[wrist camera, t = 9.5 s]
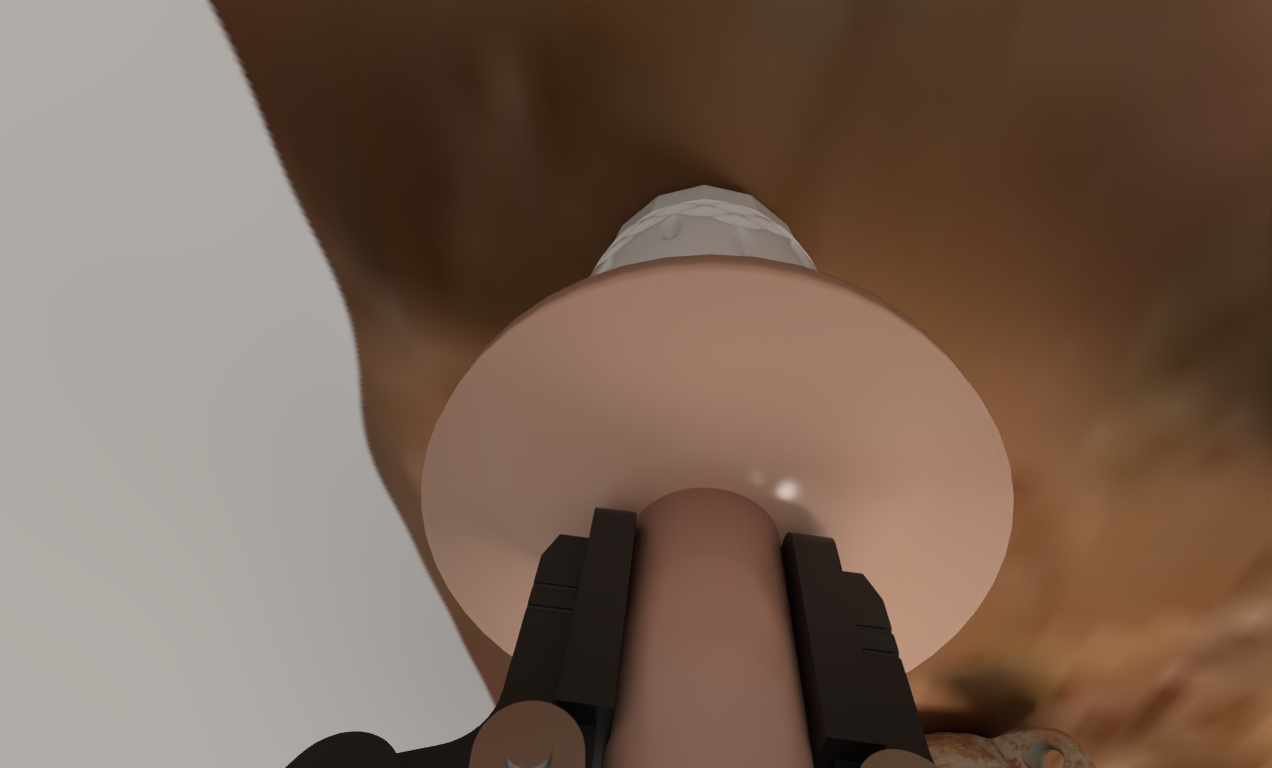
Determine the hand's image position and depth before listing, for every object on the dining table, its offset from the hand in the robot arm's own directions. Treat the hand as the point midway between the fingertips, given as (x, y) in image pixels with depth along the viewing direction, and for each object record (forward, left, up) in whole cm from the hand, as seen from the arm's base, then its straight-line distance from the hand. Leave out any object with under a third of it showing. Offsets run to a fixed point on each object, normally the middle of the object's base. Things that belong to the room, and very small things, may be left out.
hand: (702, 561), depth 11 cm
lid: (0, 0, -1) cm, 1 cm away
